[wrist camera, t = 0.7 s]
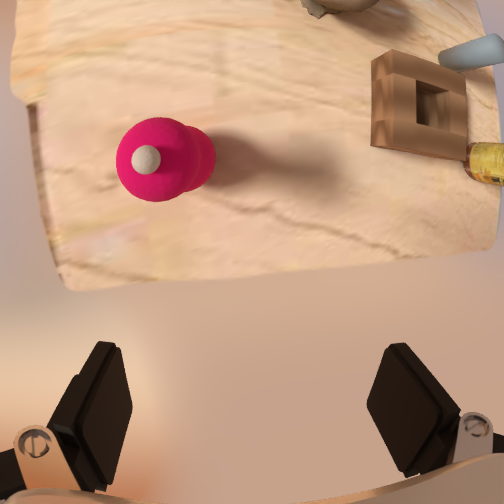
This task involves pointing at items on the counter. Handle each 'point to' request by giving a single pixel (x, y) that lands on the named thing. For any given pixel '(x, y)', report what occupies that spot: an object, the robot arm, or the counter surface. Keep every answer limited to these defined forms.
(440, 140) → the socket block
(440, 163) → the counter surface
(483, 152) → the sauce bottle
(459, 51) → the peg
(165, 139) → the pepper mill
